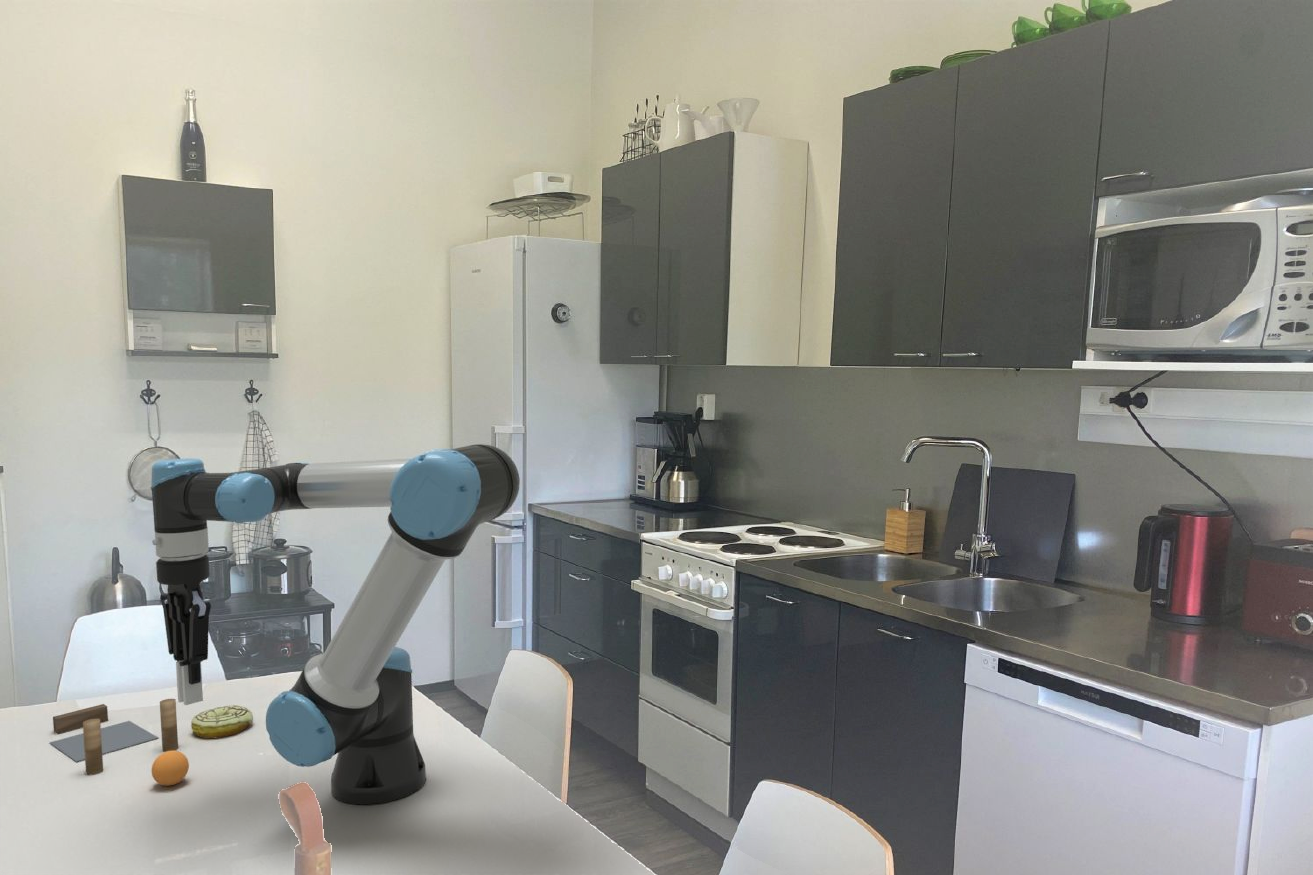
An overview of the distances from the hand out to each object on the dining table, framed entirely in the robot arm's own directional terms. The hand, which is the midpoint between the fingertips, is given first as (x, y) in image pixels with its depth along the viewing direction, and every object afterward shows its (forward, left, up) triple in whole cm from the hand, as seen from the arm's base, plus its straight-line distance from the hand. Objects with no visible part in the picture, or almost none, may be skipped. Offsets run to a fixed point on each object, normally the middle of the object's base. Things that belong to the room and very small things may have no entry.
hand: (190, 700), depth 153 cm
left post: (+25, +6, -16) cm, 31 cm away
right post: (+25, -6, -16) cm, 31 cm away
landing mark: (+39, 0, -16) cm, 43 cm away
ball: (+9, 0, -14) cm, 17 cm away
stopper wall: (+51, 0, -16) cm, 54 cm away
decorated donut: (+27, -17, -17) cm, 37 cm away
